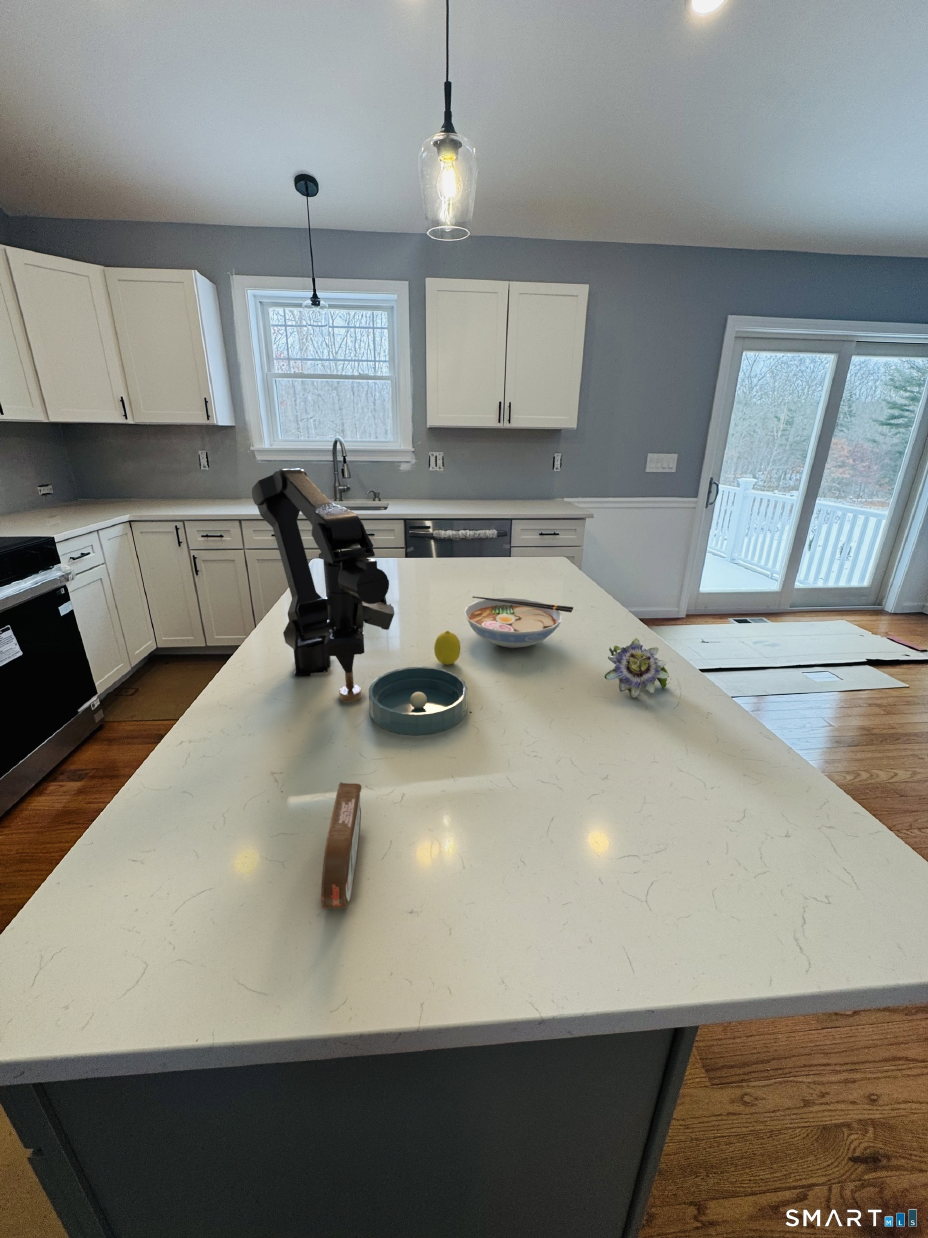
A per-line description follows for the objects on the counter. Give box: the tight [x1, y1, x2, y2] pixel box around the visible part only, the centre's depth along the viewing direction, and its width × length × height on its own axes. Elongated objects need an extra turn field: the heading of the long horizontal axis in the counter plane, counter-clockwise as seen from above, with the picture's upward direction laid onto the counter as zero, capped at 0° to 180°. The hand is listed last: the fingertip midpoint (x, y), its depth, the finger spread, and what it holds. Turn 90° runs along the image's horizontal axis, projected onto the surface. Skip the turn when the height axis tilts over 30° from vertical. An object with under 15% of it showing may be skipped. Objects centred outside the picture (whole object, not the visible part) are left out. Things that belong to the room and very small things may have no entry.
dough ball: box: [410, 692, 427, 709], centre depth 90 cm, size 3×3×3 cm
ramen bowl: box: [463, 595, 574, 649], centre depth 119 cm, size 25×23×8 cm
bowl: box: [368, 666, 468, 736], centre depth 90 cm, size 17×17×4 cm
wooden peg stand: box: [338, 668, 363, 703], centre depth 92 cm, size 4×4×11 cm
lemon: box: [433, 630, 461, 666], centre depth 107 cm, size 6×6×8 cm
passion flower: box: [603, 637, 670, 699], centre depth 100 cm, size 11×11×12 cm
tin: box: [320, 781, 362, 911], centre depth 57 cm, size 15×3×8 cm, turn 5°
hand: (348, 670), depth 92 cm, fingers closed on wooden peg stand
